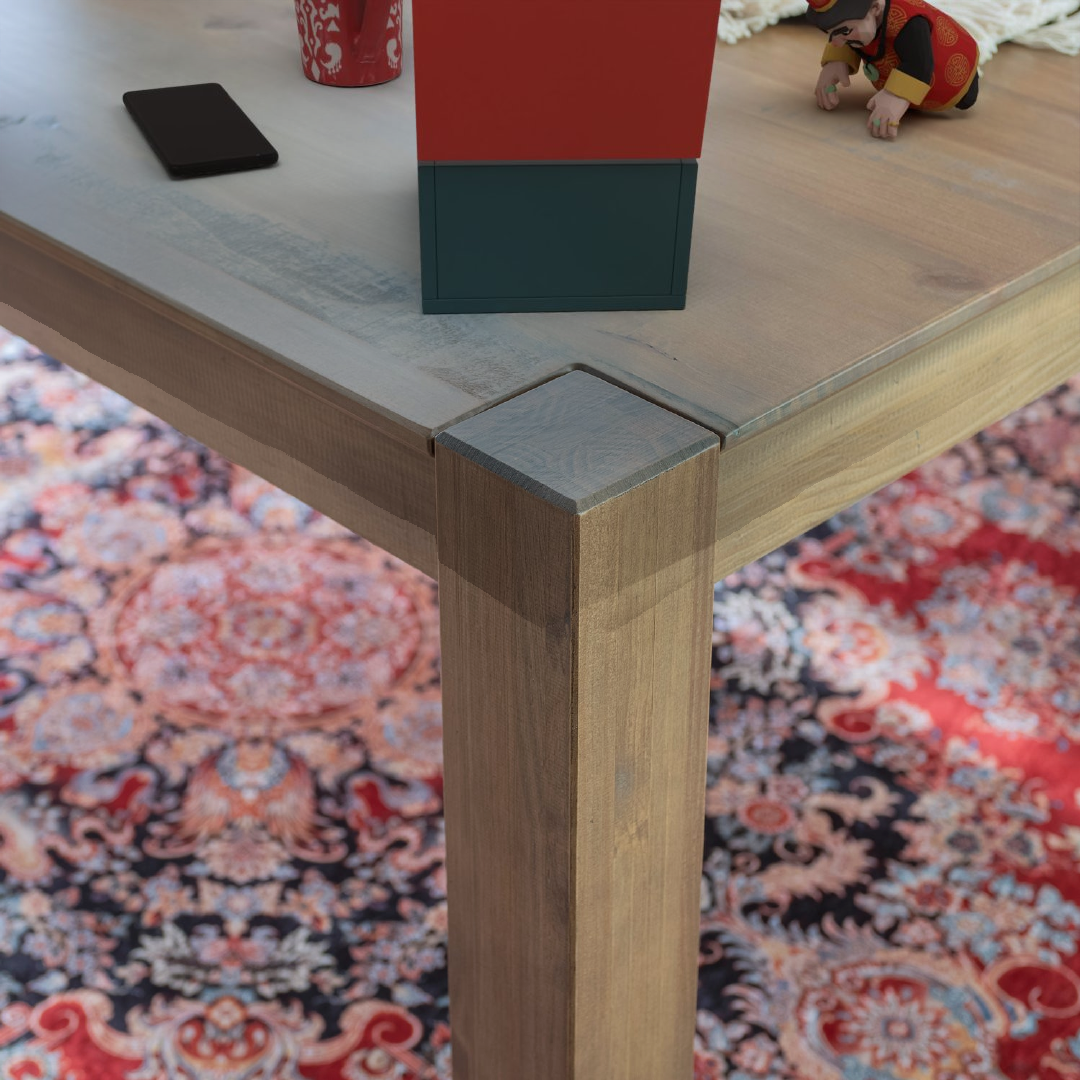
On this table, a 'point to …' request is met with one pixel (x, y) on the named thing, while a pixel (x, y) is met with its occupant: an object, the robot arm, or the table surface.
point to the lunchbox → (555, 234)
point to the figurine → (895, 57)
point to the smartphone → (198, 129)
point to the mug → (350, 40)
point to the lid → (562, 78)
